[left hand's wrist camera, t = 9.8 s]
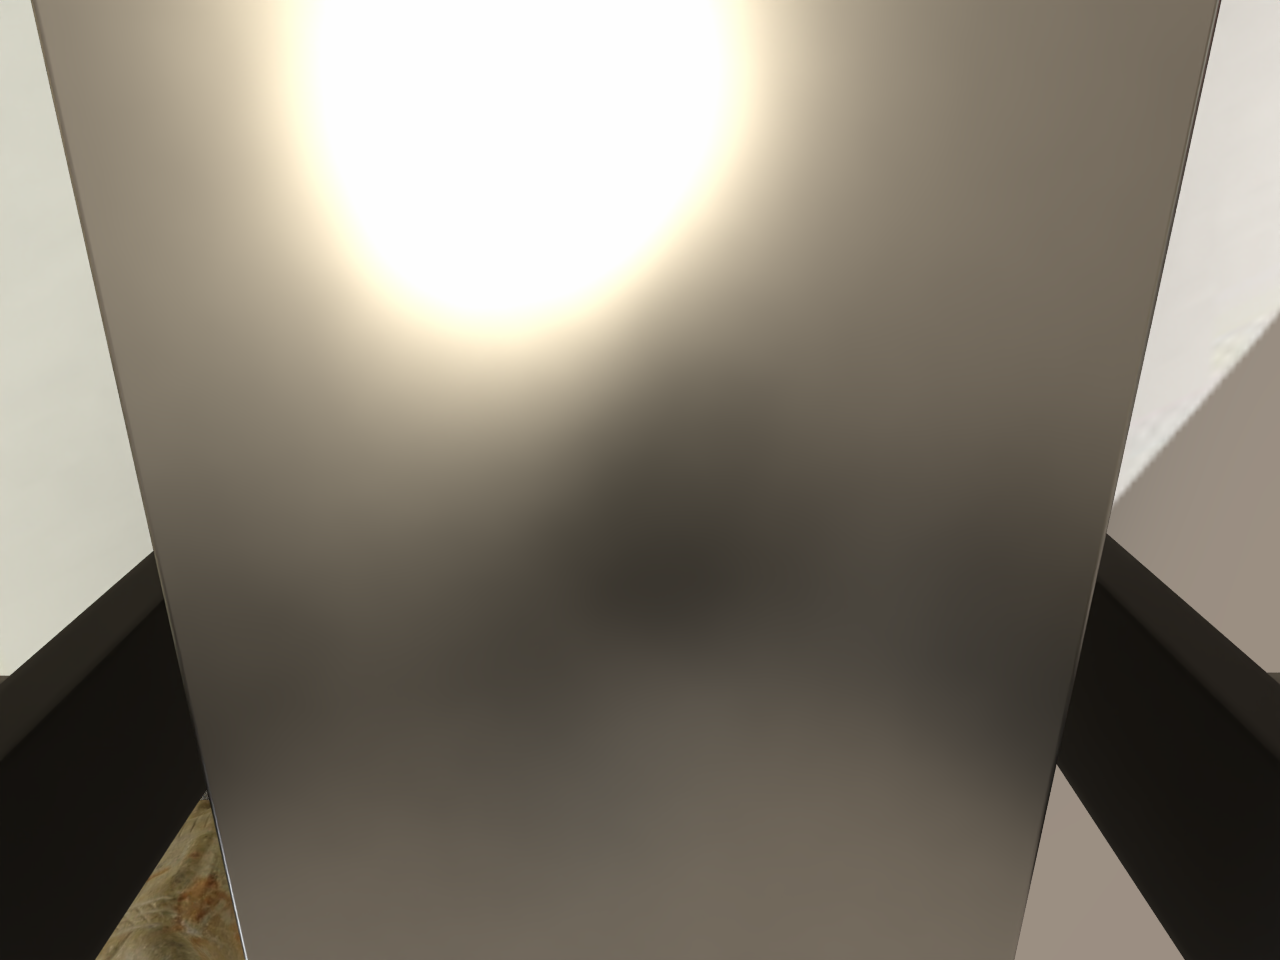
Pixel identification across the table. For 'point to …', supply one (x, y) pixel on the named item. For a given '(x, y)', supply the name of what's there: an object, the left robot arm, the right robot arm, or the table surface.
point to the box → (627, 445)
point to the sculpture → (182, 903)
